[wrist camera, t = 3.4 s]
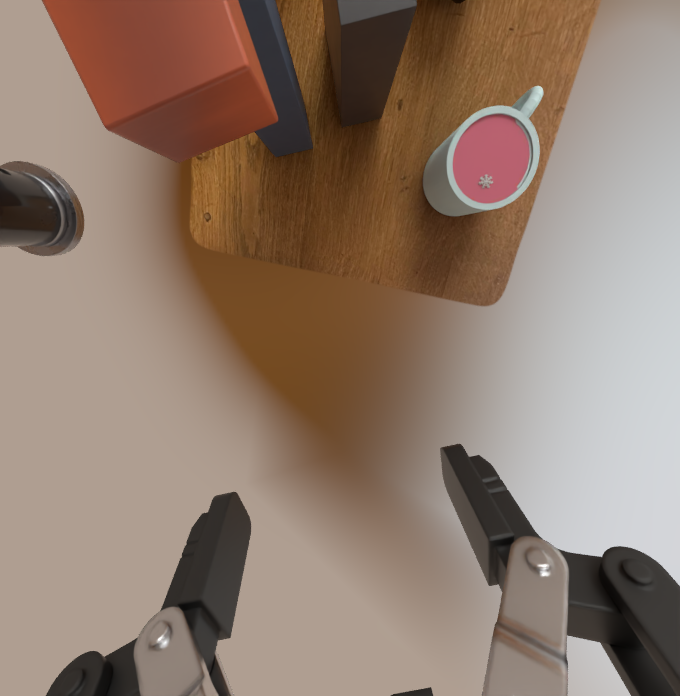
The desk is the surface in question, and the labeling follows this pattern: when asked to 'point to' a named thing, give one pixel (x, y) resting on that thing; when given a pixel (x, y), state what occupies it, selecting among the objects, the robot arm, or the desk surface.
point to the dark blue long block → (277, 79)
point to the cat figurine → (458, 1)
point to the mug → (485, 159)
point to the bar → (167, 70)
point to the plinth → (365, 52)
